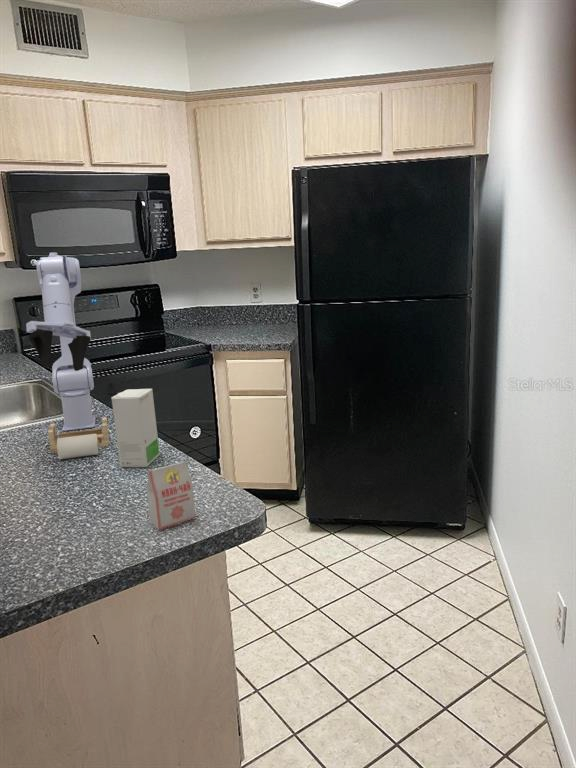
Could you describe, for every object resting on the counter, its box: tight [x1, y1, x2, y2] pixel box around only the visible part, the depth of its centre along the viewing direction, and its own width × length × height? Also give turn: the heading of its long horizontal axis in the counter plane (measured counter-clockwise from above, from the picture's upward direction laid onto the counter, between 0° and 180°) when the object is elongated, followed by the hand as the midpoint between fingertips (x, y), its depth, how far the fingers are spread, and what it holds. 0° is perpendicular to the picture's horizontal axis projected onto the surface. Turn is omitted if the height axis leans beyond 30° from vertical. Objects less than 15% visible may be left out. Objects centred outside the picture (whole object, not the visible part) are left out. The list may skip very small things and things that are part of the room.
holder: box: [47, 416, 110, 454], centre depth 144 cm, size 8×13×5 cm, turn 106°
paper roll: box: [57, 434, 100, 460], centre depth 137 cm, size 9×5×5 cm, turn 106°
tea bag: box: [146, 461, 197, 531], centre depth 102 cm, size 4×7×10 cm, turn 124°
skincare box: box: [111, 388, 161, 468], centre depth 130 cm, size 8×7×16 cm
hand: (63, 368), depth 129 cm, fingers open, 7 cm apart
